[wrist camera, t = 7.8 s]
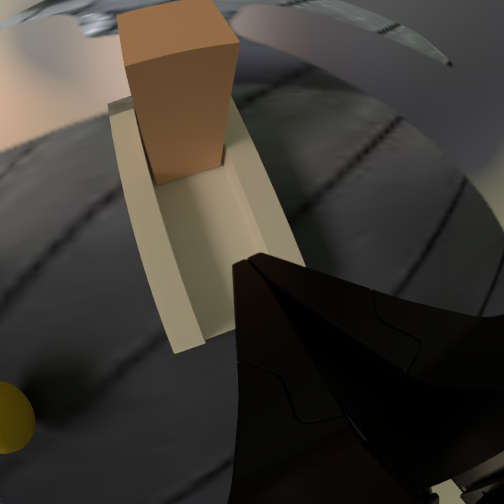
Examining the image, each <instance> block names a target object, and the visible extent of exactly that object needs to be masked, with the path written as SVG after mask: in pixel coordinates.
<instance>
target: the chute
mask: <svg viewBox="0 0 504 504" xmlns="http://www.w3.org/2000/svg"><path fill="white" fill-rule="evenodd" d="M108 110H109V117H110V123H111V130H112V135H113V141H114V147H115V152H116V157H117V162H118V167H119V172H120V177H121V182H122V186H123V190H124V195H125V199H126V203H127V207H128V211H129V215H130V219H131V223H132V227H133V231H134V234H135V238H136V242H137V245H138V249H139V252H140V256H141V259H142V262H143V266H144V269H145V272H146V275H147V278H148V282H149V285H150V288H151V291H152V294H153V297H154V300H155V303H156V306H157V309H158V311H159V314H160V317H161V320H162V323H163V325H164V328H165V331H166V333H167V336H168V339H169V341H170V344H171V346H172V349H173V352H174V354H176V353H179V352H182V351H185V350H188V349H190V348H193V347H196V346H199V345H202V344H205V340H206V339H209V338H212V337H214V336H217V335H220V334H222V333H225V332H228V331H231V330H233V329H235V318H234V301H233V282H232V264H234V263H236V262H238V261H241V260H243V259H246V260H247V258H248V257H250V256H252V255H254V254H256V253H259V252H262V253H266V254H269V255H272V256H274V257H277V258H280V259H283V260H286V261H289V262H292V263H295V264H298V265H301V266H304V267H306V266H305V263H304V261H303V258H302V256H301V253H300V251H299V248H298V246H297V243H296V241H295V239H294V236H293V234H292V231H291V229H290V226H289V224H288V222H287V219H286V217H285V214H284V212H283V210H282V207H281V205H280V203H279V200H278V198H277V196H276V193H275V191H274V189H273V186H272V184H271V182H270V179H269V177H268V175H267V173H266V170H265V168H264V166H263V163H262V161H261V159H260V157H259V155H258V152H257V150H256V148H255V146H254V143H253V141H252V139H251V137H250V135H249V133H248V130H247V128H246V126H245V124H244V122H243V120H242V118H241V115H240V113H239V111H238V109H237V107H236V105H235V103H234V101H233V99H232V96H231V98H230V104H229V111H228V117H227V124H226V130H225V137H224V144H223V151H222V158H221V166H219V167H216V168H212V169H209V170H205V171H202V172H198V173H195V174H192V175H188V176H185V177H182V178H179V179H175V180H172V181H169V182H166V183H163V184H160V185H157V183H156V179H155V176H154V173H153V170H152V167H151V163H150V160H149V157H148V153H147V150H146V146H145V143H144V140H143V136H142V133H141V129H140V125H139V122H138V118H137V114H136V111H135V107H134V103H133V99H132V96H129V97H126V98H123V99H120V100H118V101H114V102H112V103H109V104H108Z"/></svg>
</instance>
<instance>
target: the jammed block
mask: <svg viewBox="0 0 504 504" xmlns="http://www.w3.org/2000/svg"><path fill="white" fill-rule="evenodd" d="M117 21H118V29H119V35H120V42H121V48H122V54H123V61H124V66H125V70H126V75H127V79H128V83H129V87H130V91H131V95H132V99H133V103H134V107H135V111H136V114H137V118H138V122H139V125H140V129H141V133H142V136H143V140H144V143H145V146H146V150H147V153H148V157H149V160H150V163H151V167H152V170H153V173H154V176H155V179H156V183H157V185H160V184H163V183H166V182H169V181H172V180H175V179H179V178H182V177H185V176H188V175H192V174H195V173H198V172H202V171H205V170H209V169H212V168H216V167H219V166H221V158H222V151H223V144H224V137H225V130H226V124H227V117H228V111H229V104H230V98H231V92H232V86H233V80H234V74H235V68H236V63H237V57H238V52H239V46H240V41H239V40H238V38H237V37H236V35H235V34H234V32H233V31H232V29H231V28H230V26H229V25H228V23H227V22H226V20H225V19H224V17H223V16H222V14H221V13H220V11H219V10H218V8H217V7H216V6H215V4H214V3H213V1H212V0H182V1H176V2H170V3H165V4H160V5H155V6H151V7H146V8H142V9H138V10H134V11H130V12H127V13H123V14H120V15H117Z"/></svg>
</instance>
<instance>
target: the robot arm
mask: <svg viewBox="0 0 504 504" xmlns="http://www.w3.org/2000/svg"><path fill="white" fill-rule="evenodd" d="M232 282H233V301H234V318H235V334H236V350H237V361H238V363H237V368H238V393H239V400H238V421H237V432H236V444H235V455H234V466H233V476H232V483H231V490H230V495H229V499H228V503H227V504H439V496H438V494H437V493H432V489H431V487H432V486H435V485H437V484H440V483H442V482H444V481H447V480H449V479H452V480H453V482H454V483H455V484H456V485H457V486H458V487H459V489H460V490H461V491H462V492H463V493H462V494H461V495H460V497H461V499H462V500H463V501H464V502H465V503H466V504H504V314H502V315H498V316H492V317H477V316H471V315H466V314H462V313H458V312H453V311H449V310H444V309H440V308H436V307H431V306H427V305H423V304H419V303H415V302H411V301H407V300H404V299H401V298H397V297H394V296H391V295H388V294H385V293H382V292H379V291H376V290H372V291H371V290H370V289H369V288H367V287H364V286H361V285H358V284H355V283H352V282H349V281H346V280H343V279H340V278H337V277H334V276H331V275H328V274H325V273H322V272H319V271H316V270H313V269H310V268H307V267H304V266H301V265H298V264H295V263H292V262H289V261H286V260H283V259H280V258H277V257H274V256H272V255H269V254H266V253H262V252H259V253H256V254H254V255H252V256H250V257H248V258H247V260H246V259H243V260H241V261H238V262H236V263H234V264H232ZM344 411H345V412H344ZM345 413H346V414H347V415H348V416H349V418H350V419H351V420H352V421H353V422H354V424H355V425H356V426H357V427H358V428H359V430H360V431H361V432H362V433H363V434H364V436H365V437H366V438H367V440H365V441H364V440H363V439H362V438H361V436H360V435H359V434H358V432H357V431H356V430H355V428H354V427H353V425H352V424H351V422H350V420H349V419H348V417H346V414H345Z"/></svg>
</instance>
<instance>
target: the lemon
mask: <svg viewBox="0 0 504 504" xmlns="http://www.w3.org/2000/svg"><path fill="white" fill-rule="evenodd" d="M34 431H35V415H34V411H33V408H32V406H31V404H30V402H29V400H28V399H27V397H26V396H25V395H24V394H23V393H22V392H21V391H20V390H19V389H18V388H16V387H15V386H13V385H11V384H9V383H6V382H2V381H0V453H1V454H6V453H11V452H14V451H17V450H20V449H21V448H23V447H24V446H25V445H26V444H27V443H28V442H29V441H30V440H31V438H32V436H33V434H34Z"/></svg>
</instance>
